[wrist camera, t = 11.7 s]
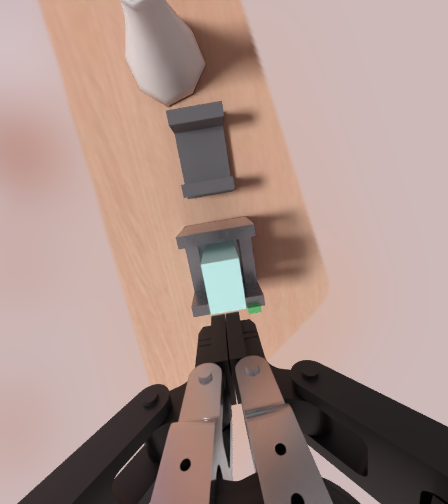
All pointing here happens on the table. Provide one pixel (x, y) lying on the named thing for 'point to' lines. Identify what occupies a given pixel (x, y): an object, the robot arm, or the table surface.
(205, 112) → the grey ridged tray
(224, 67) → the table surface
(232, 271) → the plug
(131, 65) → the flask
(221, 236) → the port
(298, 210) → the table surface
